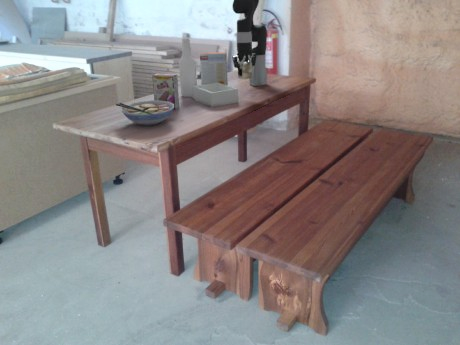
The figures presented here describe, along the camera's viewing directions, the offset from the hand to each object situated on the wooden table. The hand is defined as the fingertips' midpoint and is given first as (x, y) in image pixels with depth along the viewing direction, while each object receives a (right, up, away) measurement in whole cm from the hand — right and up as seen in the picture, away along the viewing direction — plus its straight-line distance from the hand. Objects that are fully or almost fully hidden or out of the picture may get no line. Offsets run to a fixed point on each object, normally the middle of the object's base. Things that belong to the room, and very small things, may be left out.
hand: (244, 75), depth 232 cm
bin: (-15, -14, -1) cm, 20 cm away
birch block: (0, -1, +1) cm, 1 cm away
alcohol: (-29, -9, +12) cm, 33 cm away
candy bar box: (-38, -19, -12) cm, 44 cm away
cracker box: (-16, -5, +19) cm, 26 cm away
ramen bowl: (-43, -29, -34) cm, 62 cm away
